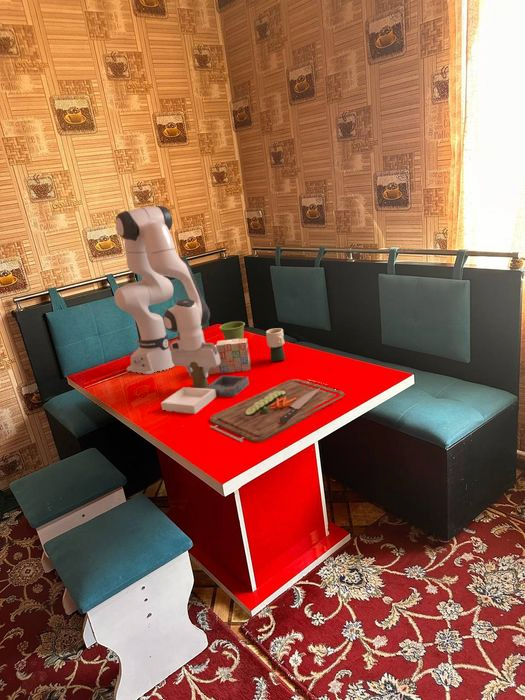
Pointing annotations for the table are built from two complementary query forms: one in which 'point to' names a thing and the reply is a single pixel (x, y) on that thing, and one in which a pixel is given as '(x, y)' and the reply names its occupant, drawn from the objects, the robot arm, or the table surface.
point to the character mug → (276, 343)
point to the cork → (198, 376)
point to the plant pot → (233, 330)
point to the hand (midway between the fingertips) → (199, 376)
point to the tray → (188, 400)
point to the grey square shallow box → (228, 385)
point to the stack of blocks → (232, 356)
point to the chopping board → (273, 410)
